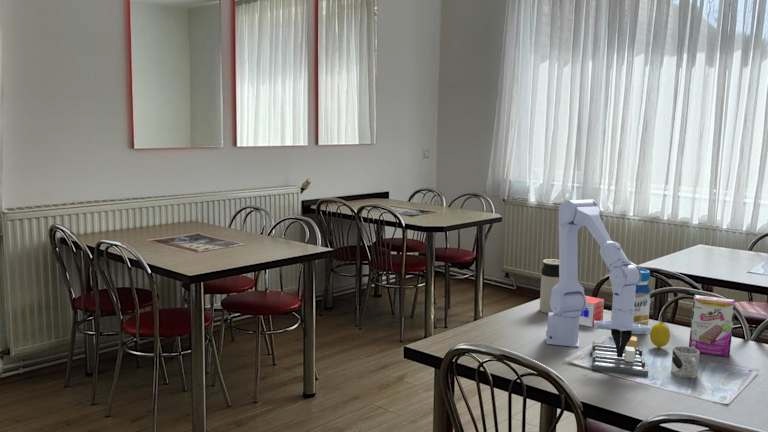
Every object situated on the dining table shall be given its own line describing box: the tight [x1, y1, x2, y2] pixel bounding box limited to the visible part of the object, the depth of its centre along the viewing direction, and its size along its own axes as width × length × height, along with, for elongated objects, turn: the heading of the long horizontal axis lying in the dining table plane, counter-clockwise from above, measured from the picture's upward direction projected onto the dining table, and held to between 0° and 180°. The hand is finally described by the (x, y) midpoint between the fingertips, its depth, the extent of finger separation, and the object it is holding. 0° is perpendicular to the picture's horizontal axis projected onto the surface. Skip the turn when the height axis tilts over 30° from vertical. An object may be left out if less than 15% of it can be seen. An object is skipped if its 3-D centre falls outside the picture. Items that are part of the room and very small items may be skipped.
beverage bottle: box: [632, 267, 652, 335], centre depth 227 cm, size 8×8×20 cm
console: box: [591, 341, 649, 377], centre depth 200 cm, size 14×20×3 cm
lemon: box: [649, 322, 671, 349], centre depth 211 cm, size 6×6×8 cm
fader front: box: [624, 345, 635, 363], centre depth 194 cm, size 2×4×4 cm, turn 164°
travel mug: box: [539, 258, 559, 314], centre depth 248 cm, size 8×8×18 cm
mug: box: [670, 345, 701, 379], centre depth 189 cm, size 10×7×7 cm, turn 178°
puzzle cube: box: [579, 295, 605, 328], centre depth 237 cm, size 8×8×8 cm
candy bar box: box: [688, 294, 736, 358], centre depth 208 cm, size 11×5×16 cm, turn 65°
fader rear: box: [626, 335, 638, 351], centre depth 203 cm, size 2×4×4 cm, turn 164°
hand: (619, 356), depth 195 cm, fingers closed
